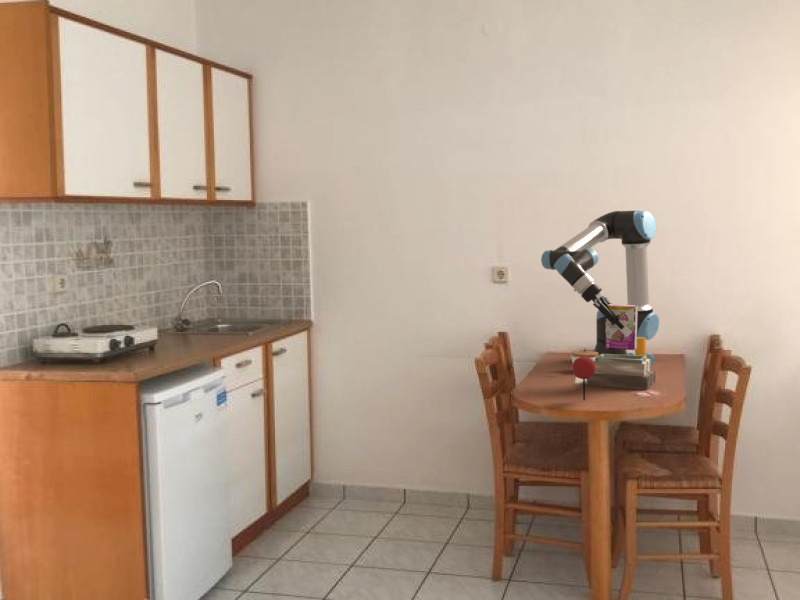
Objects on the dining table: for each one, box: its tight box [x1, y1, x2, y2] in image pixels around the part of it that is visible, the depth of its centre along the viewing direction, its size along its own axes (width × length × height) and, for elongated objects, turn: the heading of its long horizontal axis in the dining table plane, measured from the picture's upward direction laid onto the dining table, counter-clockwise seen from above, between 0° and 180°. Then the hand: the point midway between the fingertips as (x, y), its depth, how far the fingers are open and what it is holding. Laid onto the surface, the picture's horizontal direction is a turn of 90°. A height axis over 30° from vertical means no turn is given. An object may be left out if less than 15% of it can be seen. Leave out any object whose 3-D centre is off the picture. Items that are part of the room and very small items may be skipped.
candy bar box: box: [605, 303, 638, 351], centre depth 341 cm, size 11×5×16 cm, turn 66°
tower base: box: [586, 354, 656, 391], centre depth 343 cm, size 16×22×10 cm
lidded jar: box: [571, 348, 598, 364], centre depth 371 cm, size 11×11×9 cm
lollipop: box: [571, 357, 595, 401], centre depth 314 cm, size 8×8×15 cm
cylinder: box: [627, 337, 655, 366], centre depth 360 cm, size 12×10×15 cm
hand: (631, 333), depth 340 cm, fingers closed on candy bar box, 5 cm apart
